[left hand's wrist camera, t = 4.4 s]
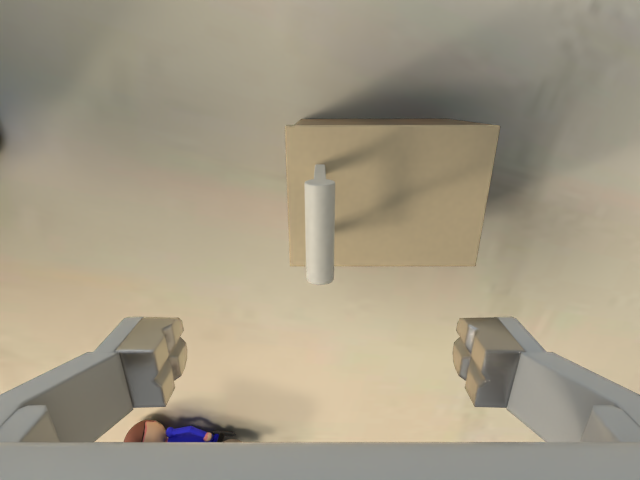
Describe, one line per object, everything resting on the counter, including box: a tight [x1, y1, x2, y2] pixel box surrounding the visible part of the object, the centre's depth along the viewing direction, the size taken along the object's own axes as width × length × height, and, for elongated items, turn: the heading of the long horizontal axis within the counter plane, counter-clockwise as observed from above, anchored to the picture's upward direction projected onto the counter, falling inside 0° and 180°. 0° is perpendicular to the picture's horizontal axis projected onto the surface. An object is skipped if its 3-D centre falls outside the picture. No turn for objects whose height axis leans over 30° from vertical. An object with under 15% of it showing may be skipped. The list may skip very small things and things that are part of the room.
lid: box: [285, 125, 500, 285], centre depth 22 cm, size 14×10×8 cm
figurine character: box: [124, 420, 241, 442], centre depth 44 cm, size 7×8×15 cm
